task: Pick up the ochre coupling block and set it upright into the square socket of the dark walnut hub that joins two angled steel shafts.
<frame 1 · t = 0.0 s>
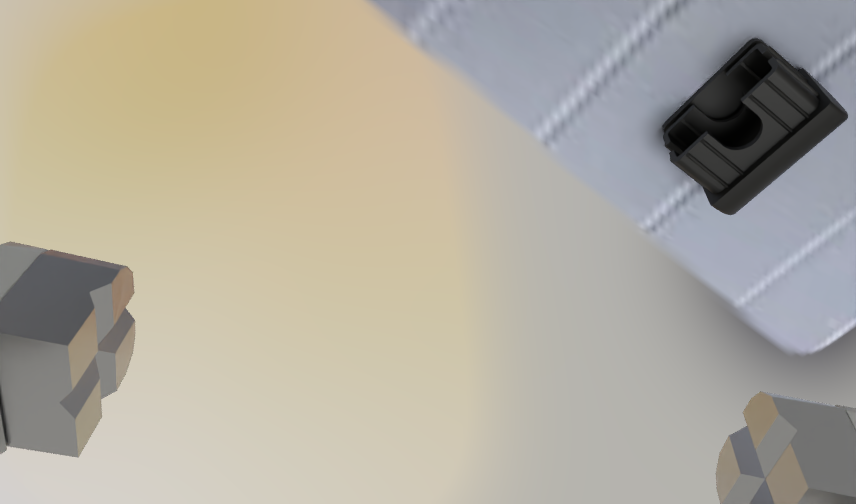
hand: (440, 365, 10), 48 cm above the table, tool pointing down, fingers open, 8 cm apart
end cap: (738, 109, 59), on the table
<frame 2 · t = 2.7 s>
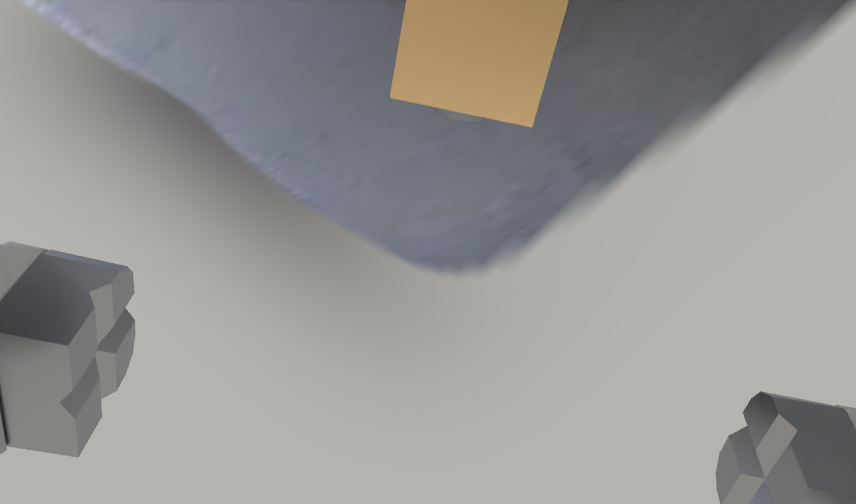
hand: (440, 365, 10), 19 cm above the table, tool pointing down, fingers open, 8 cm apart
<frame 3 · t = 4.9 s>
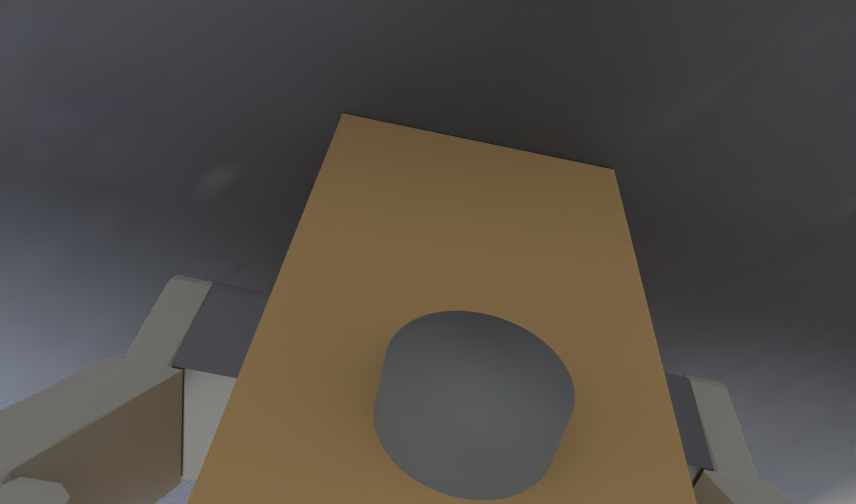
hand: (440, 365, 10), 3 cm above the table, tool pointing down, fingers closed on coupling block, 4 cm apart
coupling block: (451, 253, 13), on the table, touching gripper
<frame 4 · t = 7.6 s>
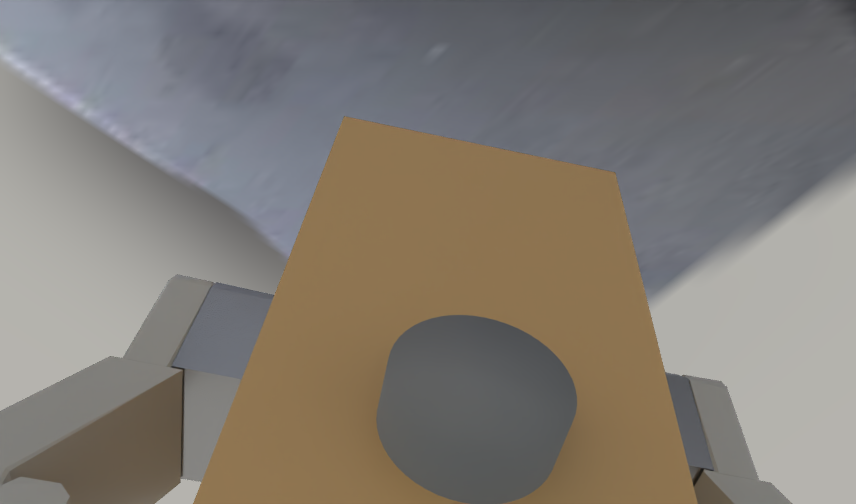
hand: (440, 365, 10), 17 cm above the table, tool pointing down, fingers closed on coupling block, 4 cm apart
coupling block: (452, 255, 13), point 14 cm above the table, touching gripper
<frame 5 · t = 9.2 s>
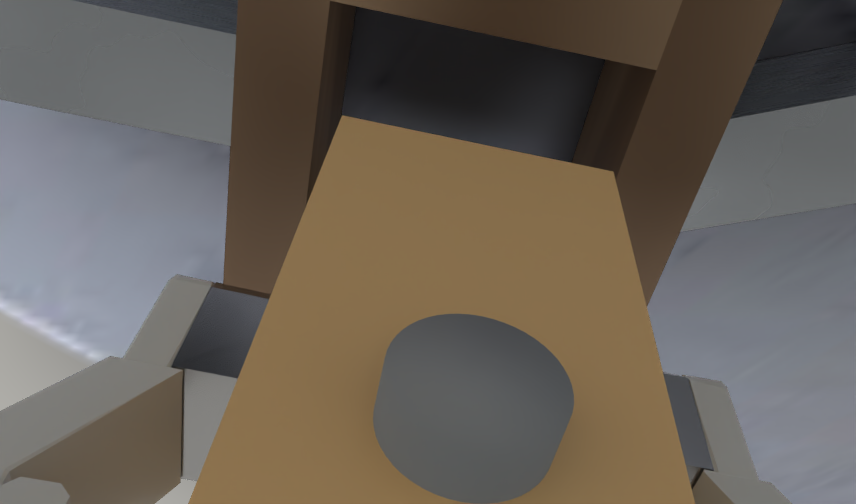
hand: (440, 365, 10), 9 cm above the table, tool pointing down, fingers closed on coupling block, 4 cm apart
coupling block: (450, 255, 13), point 6 cm above the table, touching gripper
steel shafts: (467, 93, 18), on the table
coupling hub: (467, 93, 18), on the table
when the fingers open (5 cm above the table, at t = 10.4 s): coupling block drops 2 cm, resting in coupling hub.
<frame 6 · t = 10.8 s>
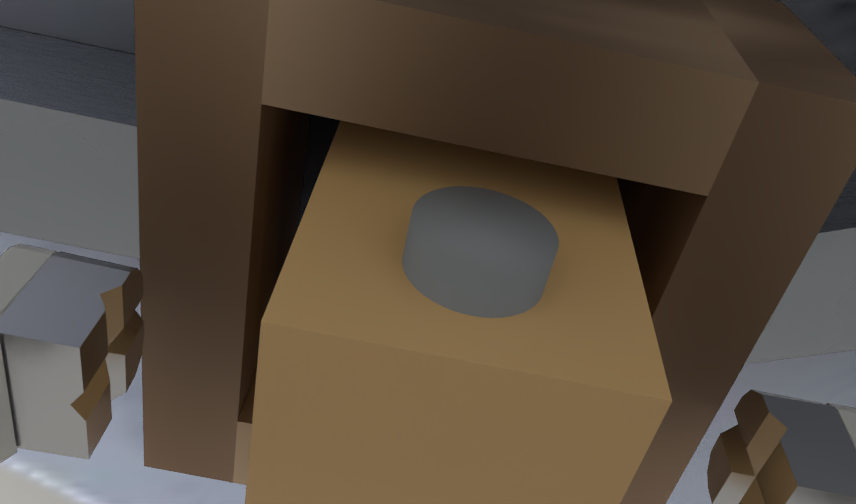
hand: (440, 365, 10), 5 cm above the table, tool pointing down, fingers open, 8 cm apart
coupling block: (458, 183, 14), resting in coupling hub
steel shafts: (455, 183, 14), on the table
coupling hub: (455, 183, 14), on the table
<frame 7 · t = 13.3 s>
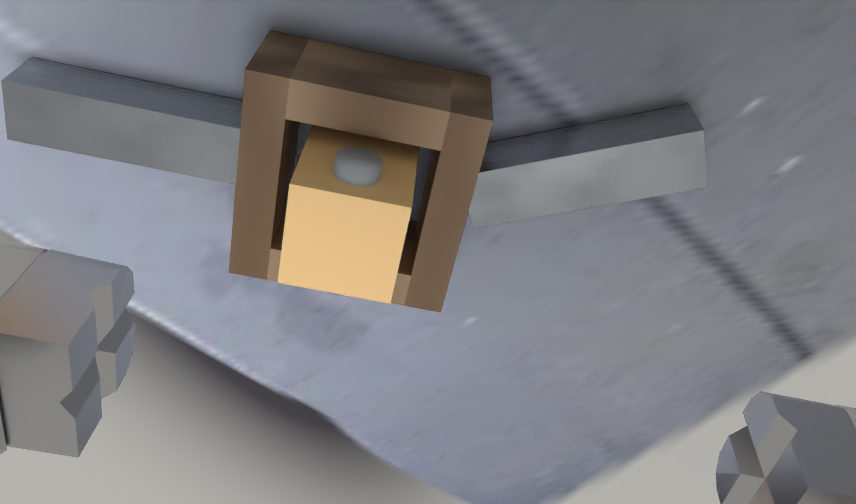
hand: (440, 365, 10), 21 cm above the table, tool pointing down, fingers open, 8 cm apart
coupling block: (365, 152, 33), resting in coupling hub
steel shafts: (363, 152, 32), on the table
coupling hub: (363, 152, 32), on the table
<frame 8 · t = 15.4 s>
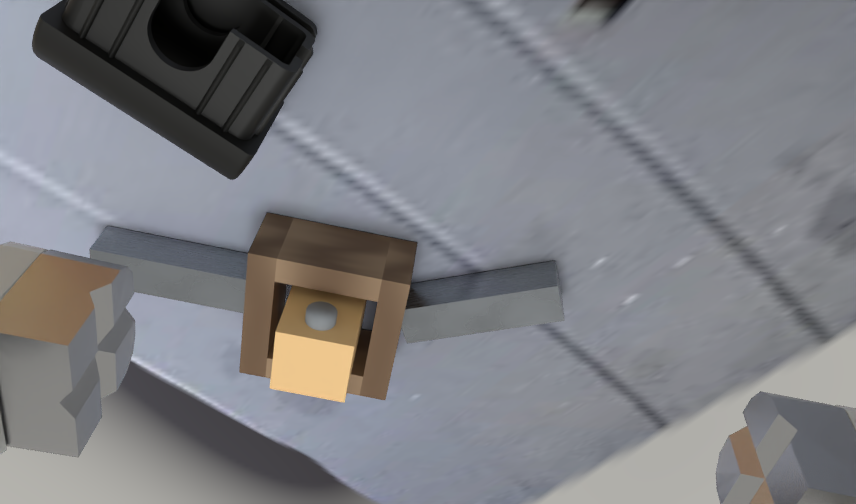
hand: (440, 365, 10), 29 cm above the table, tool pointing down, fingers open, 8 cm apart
coupling block: (334, 286, 47), resting in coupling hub
end cap: (206, 26, 39), on the table
steel shafts: (333, 287, 47), on the table
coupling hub: (333, 287, 47), on the table
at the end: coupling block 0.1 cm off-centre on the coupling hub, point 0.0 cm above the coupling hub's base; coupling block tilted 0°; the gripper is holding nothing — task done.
